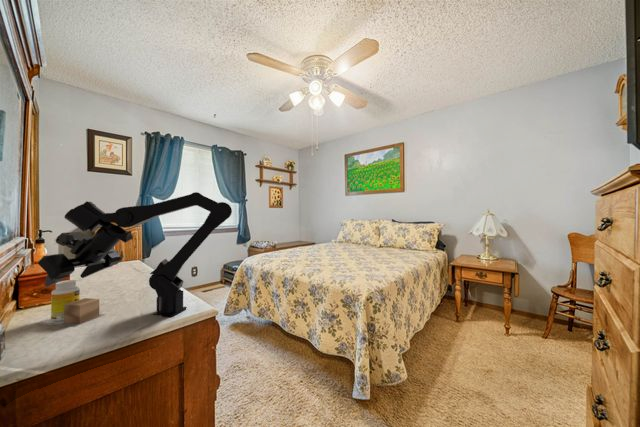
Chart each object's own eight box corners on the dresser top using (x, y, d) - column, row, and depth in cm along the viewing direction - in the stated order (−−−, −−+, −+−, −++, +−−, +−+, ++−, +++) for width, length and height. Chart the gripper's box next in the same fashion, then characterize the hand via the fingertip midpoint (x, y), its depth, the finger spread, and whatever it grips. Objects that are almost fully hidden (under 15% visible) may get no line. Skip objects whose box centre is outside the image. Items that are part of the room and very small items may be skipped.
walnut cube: (99, 316, 70) (99, 299, 70) (79, 323, 65) (79, 305, 65) (84, 315, 71) (84, 298, 71) (64, 322, 66) (64, 304, 66)
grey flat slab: (106, 315, 71) (106, 314, 71) (74, 328, 63) (74, 326, 63) (71, 313, 73) (71, 311, 73) (37, 325, 65) (37, 323, 65)
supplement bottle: (77, 318, 68) (78, 282, 68) (48, 323, 65) (49, 285, 65) (80, 312, 73) (80, 278, 73) (53, 317, 69) (53, 281, 69)
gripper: (112, 221, 78) (79, 255, 78) (45, 223, 59) (2, 268, 60) (136, 245, 78) (103, 279, 78) (76, 255, 59) (32, 300, 59)
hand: (65, 281), depth 69 cm, fingers open, 9 cm apart
